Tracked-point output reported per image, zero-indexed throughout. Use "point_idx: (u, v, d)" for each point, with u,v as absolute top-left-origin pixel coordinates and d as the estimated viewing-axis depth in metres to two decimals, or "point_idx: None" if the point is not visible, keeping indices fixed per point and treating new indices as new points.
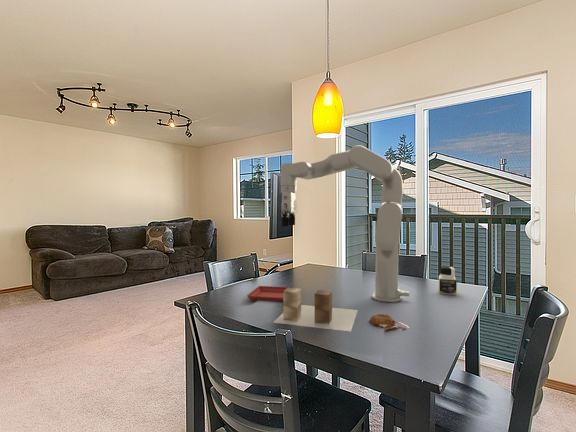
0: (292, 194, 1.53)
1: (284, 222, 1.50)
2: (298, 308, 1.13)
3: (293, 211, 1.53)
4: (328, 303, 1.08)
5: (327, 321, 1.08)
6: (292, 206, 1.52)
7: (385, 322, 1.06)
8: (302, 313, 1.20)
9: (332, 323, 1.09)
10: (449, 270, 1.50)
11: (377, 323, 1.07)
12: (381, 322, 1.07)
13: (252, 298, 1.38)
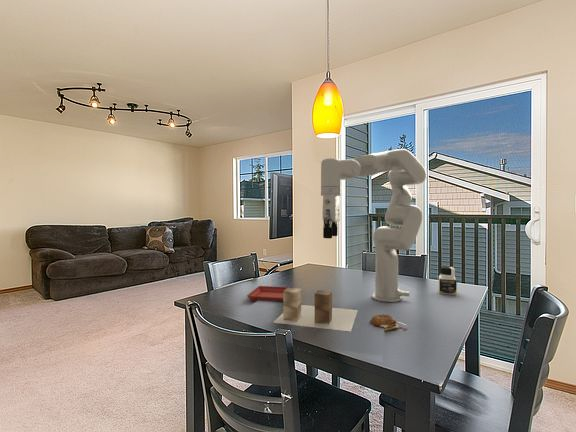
0: (336, 198, 1.20)
1: (326, 233, 1.18)
2: (298, 308, 1.13)
3: (337, 219, 1.21)
4: (328, 303, 1.08)
5: (327, 321, 1.08)
6: (336, 213, 1.20)
7: (386, 322, 1.06)
8: (302, 313, 1.20)
9: (332, 323, 1.09)
10: (449, 270, 1.50)
11: (378, 323, 1.07)
12: (382, 322, 1.06)
13: (252, 298, 1.38)
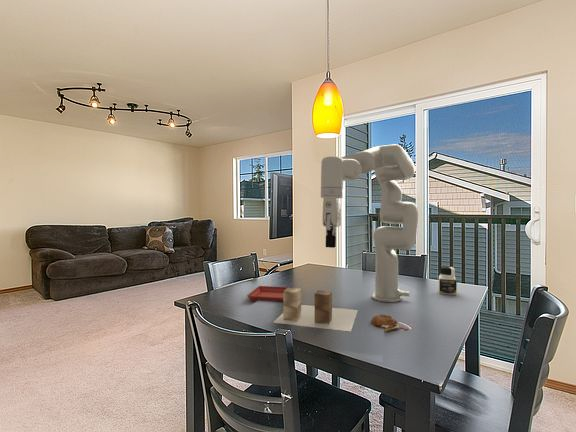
0: (338, 200, 1.09)
1: (329, 242, 1.10)
2: (298, 308, 1.13)
3: (338, 224, 1.09)
4: (328, 303, 1.08)
5: (327, 321, 1.08)
6: (337, 217, 1.08)
7: (387, 323, 1.06)
8: (302, 313, 1.20)
9: (332, 323, 1.09)
10: (449, 270, 1.50)
11: (379, 324, 1.06)
12: (383, 323, 1.06)
13: (252, 298, 1.38)
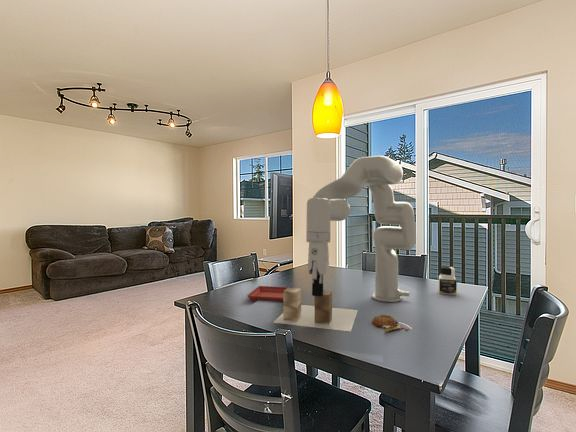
0: (324, 246, 1.00)
1: (316, 291, 1.02)
2: (298, 308, 1.13)
3: (325, 271, 1.01)
4: (328, 303, 1.08)
5: (327, 321, 1.08)
6: (324, 264, 0.99)
7: (388, 323, 1.06)
8: (302, 313, 1.20)
9: (332, 323, 1.09)
10: (449, 270, 1.50)
11: (380, 324, 1.06)
12: (384, 323, 1.06)
13: (252, 298, 1.38)
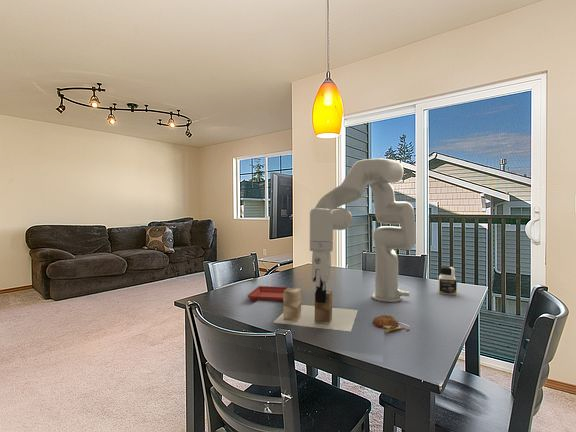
0: (327, 254, 1.04)
1: (319, 297, 1.06)
2: (298, 308, 1.13)
3: (328, 279, 1.05)
4: (328, 302, 1.08)
5: (327, 320, 1.08)
6: (327, 272, 1.03)
7: (389, 323, 1.05)
8: (302, 313, 1.20)
9: (332, 323, 1.09)
10: (449, 270, 1.50)
11: (381, 324, 1.06)
12: (385, 323, 1.05)
13: (252, 298, 1.38)
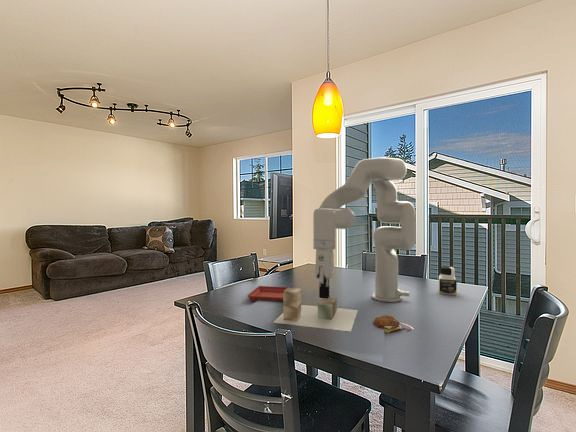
0: (330, 252, 1.09)
1: (322, 293, 1.11)
2: (298, 308, 1.13)
3: (331, 276, 1.10)
4: (334, 300, 1.20)
5: (330, 304, 1.14)
6: (330, 269, 1.09)
7: (390, 323, 1.05)
8: (302, 313, 1.20)
9: (332, 323, 1.09)
10: (449, 270, 1.50)
11: (382, 324, 1.06)
12: (386, 323, 1.05)
13: (252, 298, 1.38)
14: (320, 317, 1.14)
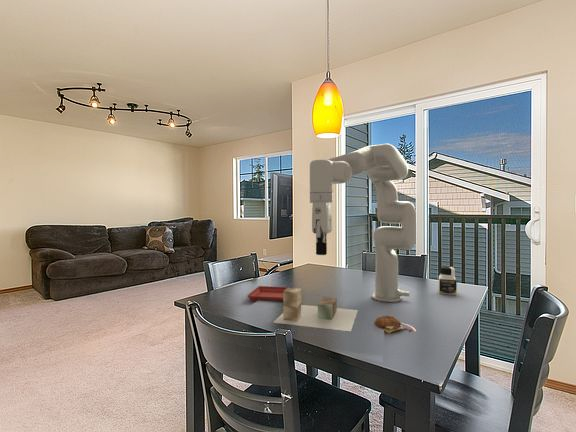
0: (327, 205, 1.03)
1: (319, 249, 1.06)
2: (298, 308, 1.13)
3: (329, 230, 1.04)
4: (334, 300, 1.20)
5: (330, 304, 1.14)
6: (328, 223, 1.03)
7: (391, 324, 1.05)
8: (302, 313, 1.20)
9: (332, 323, 1.09)
10: (449, 270, 1.50)
11: (383, 325, 1.05)
12: (387, 324, 1.05)
13: (252, 298, 1.38)
14: (320, 317, 1.14)
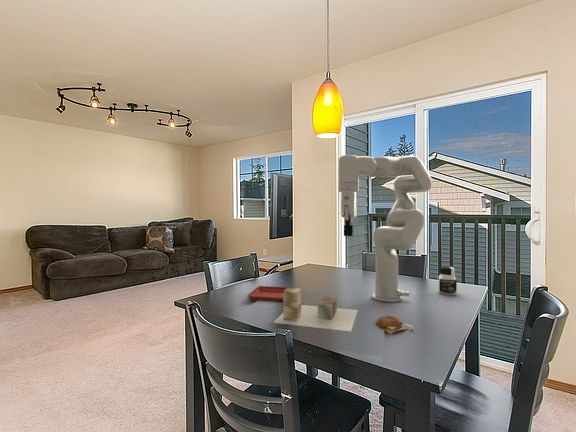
0: (354, 194, 1.22)
1: (347, 231, 1.24)
2: (298, 308, 1.13)
3: (355, 215, 1.23)
4: (334, 300, 1.20)
5: (330, 304, 1.14)
6: (354, 209, 1.22)
7: (393, 324, 1.04)
8: (302, 313, 1.20)
9: (332, 323, 1.09)
10: (449, 270, 1.50)
11: (385, 325, 1.05)
12: (389, 324, 1.05)
13: (252, 298, 1.38)
14: (320, 317, 1.14)
